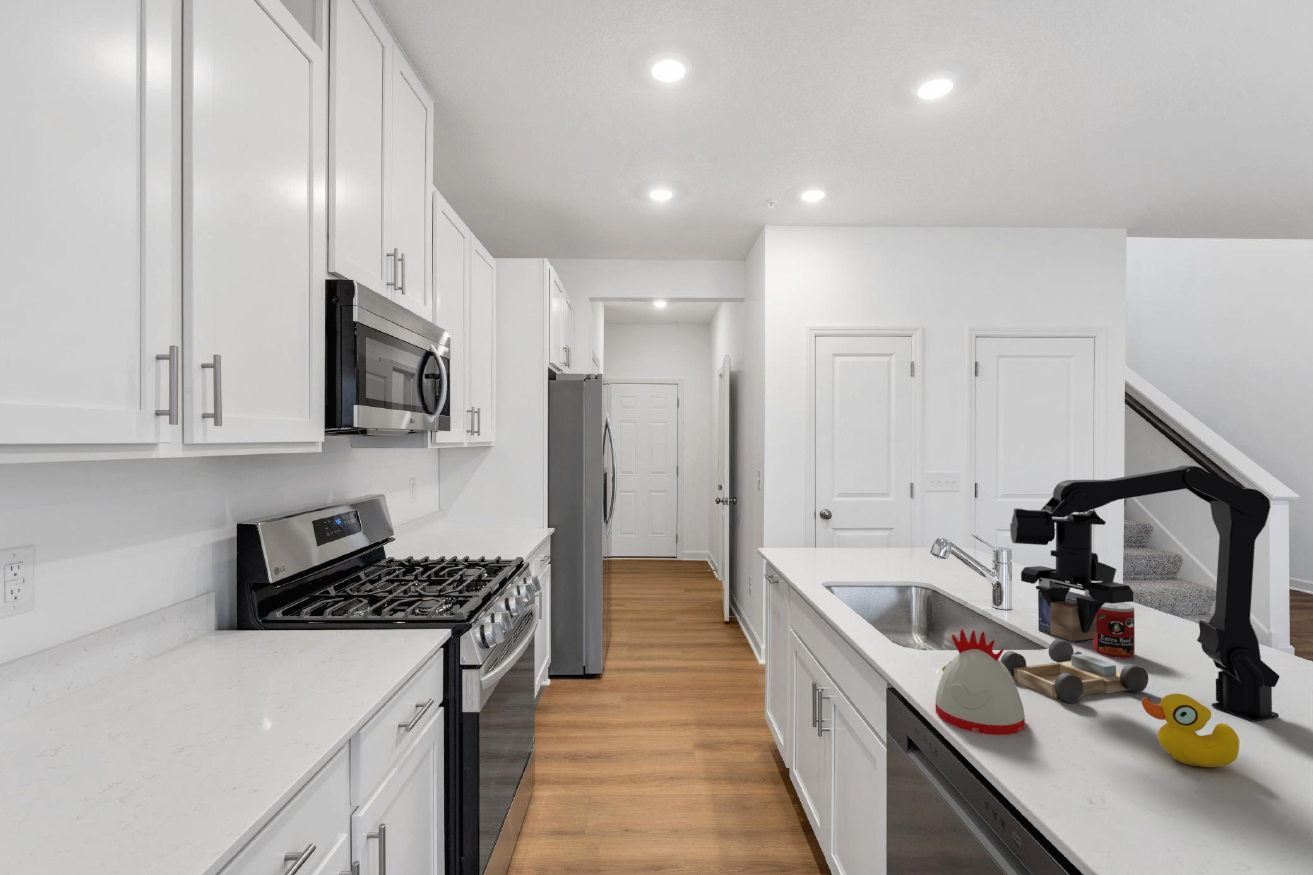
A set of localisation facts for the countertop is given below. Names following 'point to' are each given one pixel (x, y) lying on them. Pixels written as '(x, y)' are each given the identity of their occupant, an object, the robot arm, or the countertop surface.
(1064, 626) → the block
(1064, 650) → the wheel
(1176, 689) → the countertop surface
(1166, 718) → the duckling
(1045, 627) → the small box
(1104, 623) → the canned food
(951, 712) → the kitchen timer
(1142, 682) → the chassis
